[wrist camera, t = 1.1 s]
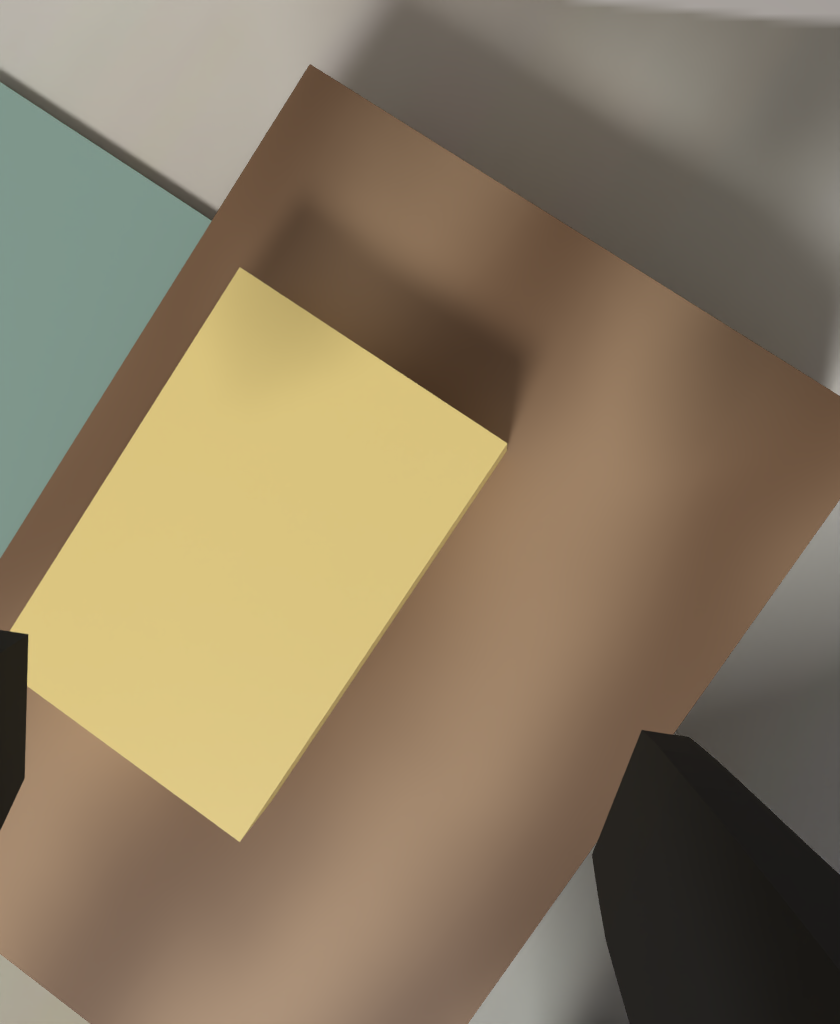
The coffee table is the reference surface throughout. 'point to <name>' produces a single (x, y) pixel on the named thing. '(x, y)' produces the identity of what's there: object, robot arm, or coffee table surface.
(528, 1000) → the coffee table surface
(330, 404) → the yellow rectangular block
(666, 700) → the deck
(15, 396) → the mat
